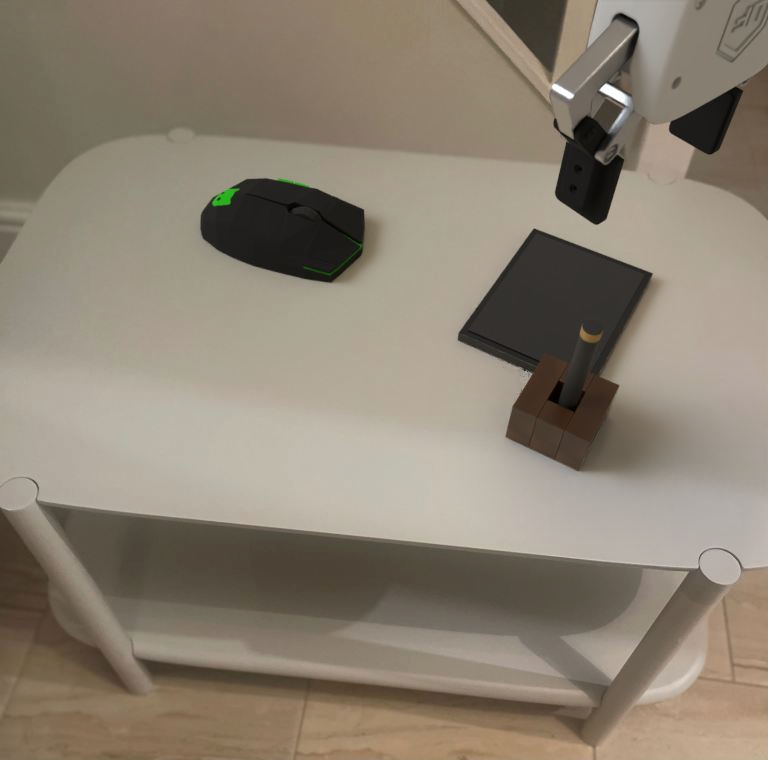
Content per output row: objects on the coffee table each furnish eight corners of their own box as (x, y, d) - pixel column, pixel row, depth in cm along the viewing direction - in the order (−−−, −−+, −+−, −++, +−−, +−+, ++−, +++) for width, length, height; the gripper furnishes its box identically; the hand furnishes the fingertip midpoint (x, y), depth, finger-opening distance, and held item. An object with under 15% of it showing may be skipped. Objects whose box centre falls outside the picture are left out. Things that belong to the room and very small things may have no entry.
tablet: (650, 280, 74) (653, 272, 73) (587, 397, 65) (589, 389, 64) (532, 234, 77) (533, 226, 76) (457, 339, 69) (458, 332, 68)
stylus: (571, 426, 63) (606, 324, 54) (564, 438, 62) (598, 337, 53) (554, 418, 64) (587, 315, 54) (547, 430, 63) (578, 328, 53)
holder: (607, 415, 64) (619, 384, 61) (578, 471, 60) (590, 442, 57) (536, 384, 66) (545, 352, 63) (504, 436, 62) (512, 406, 59)
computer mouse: (233, 177, 82) (228, 144, 79) (383, 212, 79) (384, 179, 76) (181, 246, 75) (172, 213, 72) (342, 288, 72) (341, 256, 69)
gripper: (699, -105, 25) (585, 279, 39) (957, -207, 32) (785, 149, 46) (530, -171, 29) (479, 202, 42) (795, -250, 36) (679, 92, 49)
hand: (638, 174), depth 44 cm, fingers open, 9 cm apart
